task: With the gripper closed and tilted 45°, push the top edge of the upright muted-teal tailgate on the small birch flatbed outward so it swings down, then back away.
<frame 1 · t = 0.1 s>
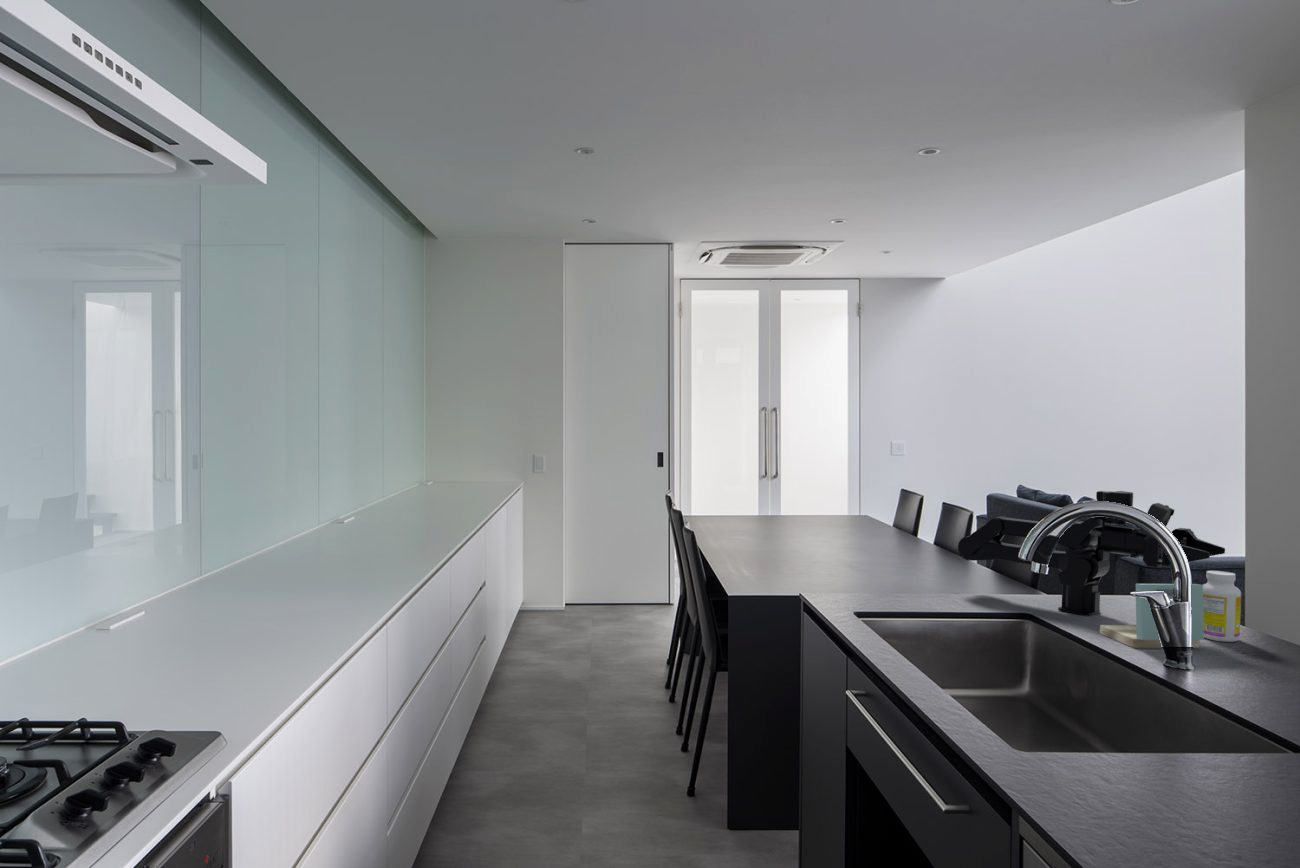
hand: (1217, 553, 163), 17 cm above the worktop, tool horizontal, fingers open, 9 cm apart
supplement bottle: (1218, 639, 163), on the worktop
tailgate: (1171, 612, 154), point 7 cm above the worktop, hinge at -5.0°
flatbed: (1148, 640, 160), on the worktop
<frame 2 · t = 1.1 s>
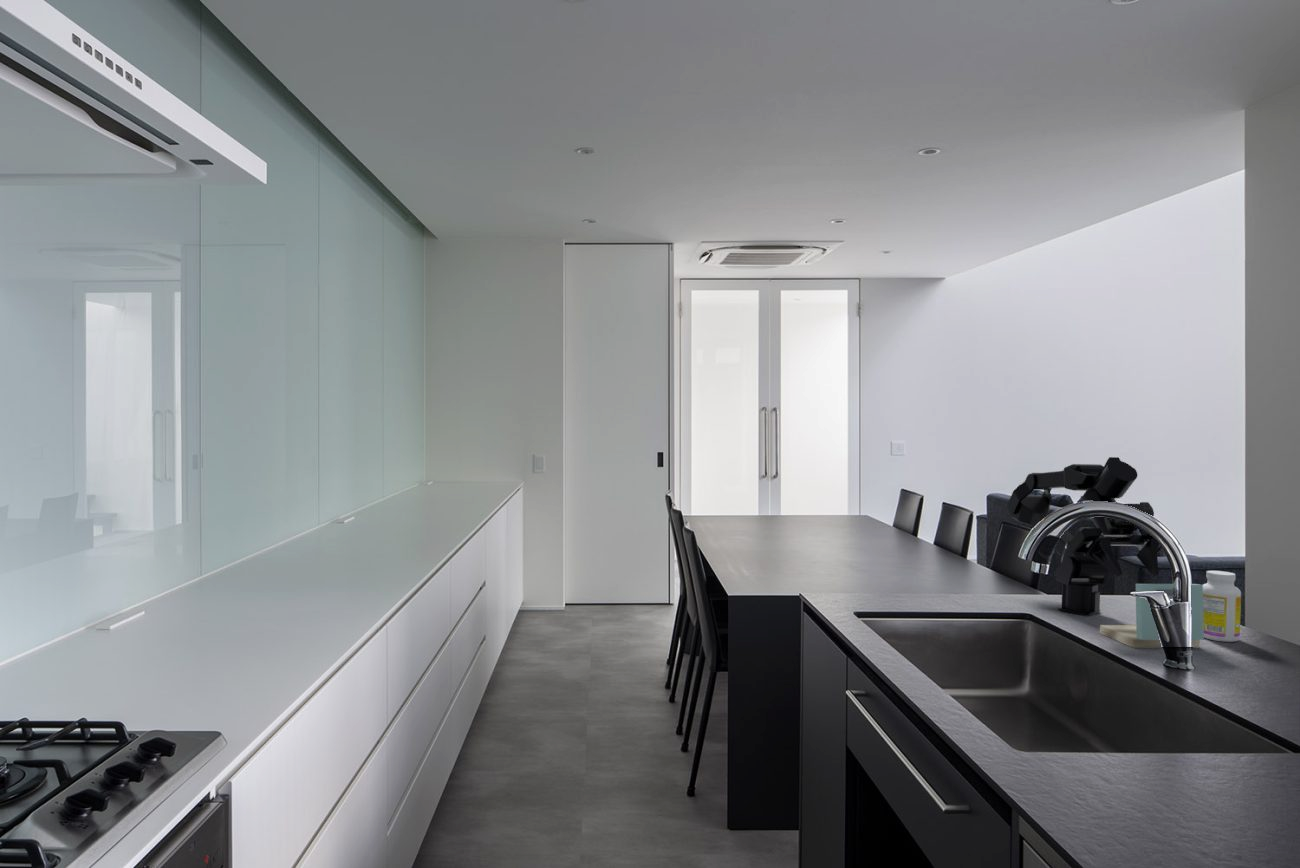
hand: (1138, 575, 163), 12 cm above the worktop, tool tilted 45°, fingers open, 7 cm apart
nothing on the worktop moved.
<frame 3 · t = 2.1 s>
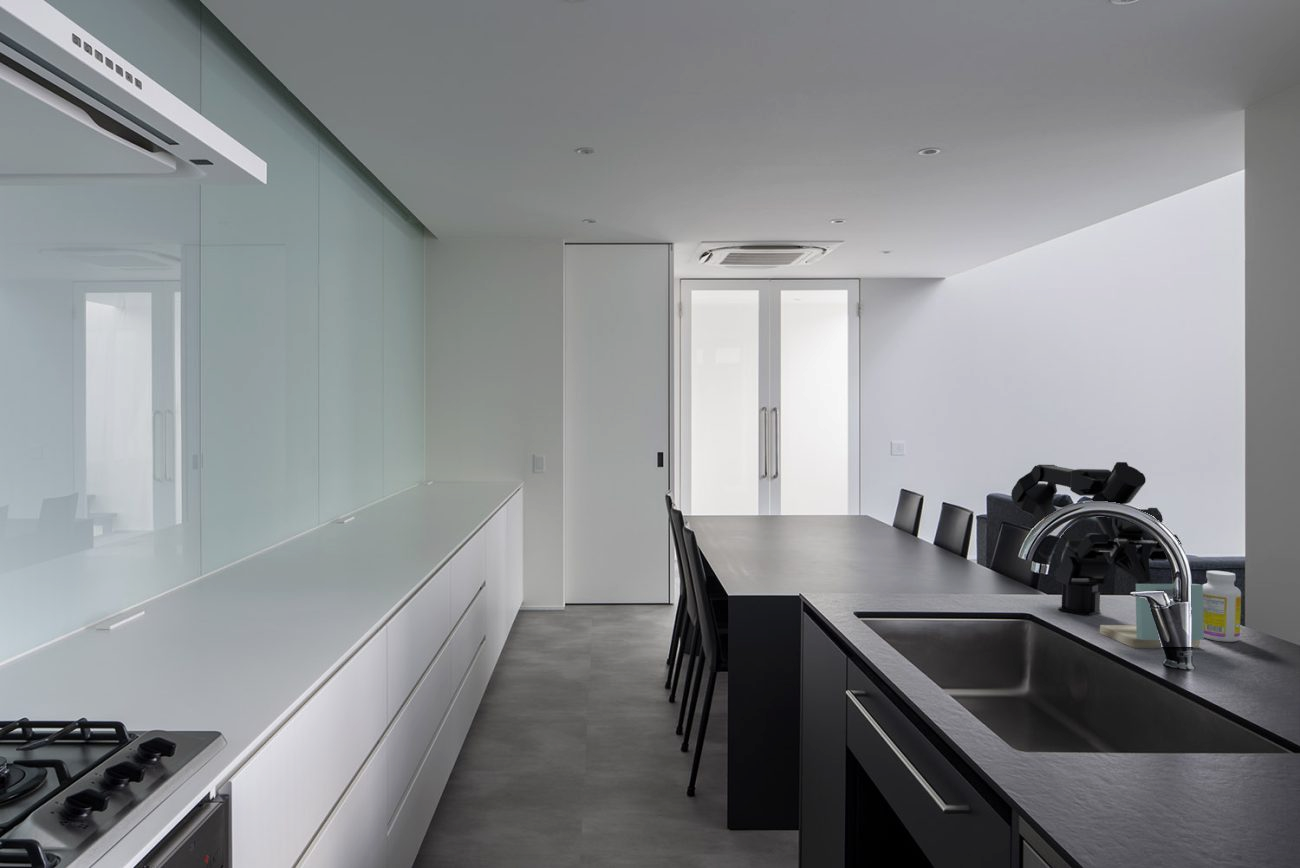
hand: (1147, 582, 161), 11 cm above the worktop, tool tilted 45°, fingers closed
nothing on the worktop moved.
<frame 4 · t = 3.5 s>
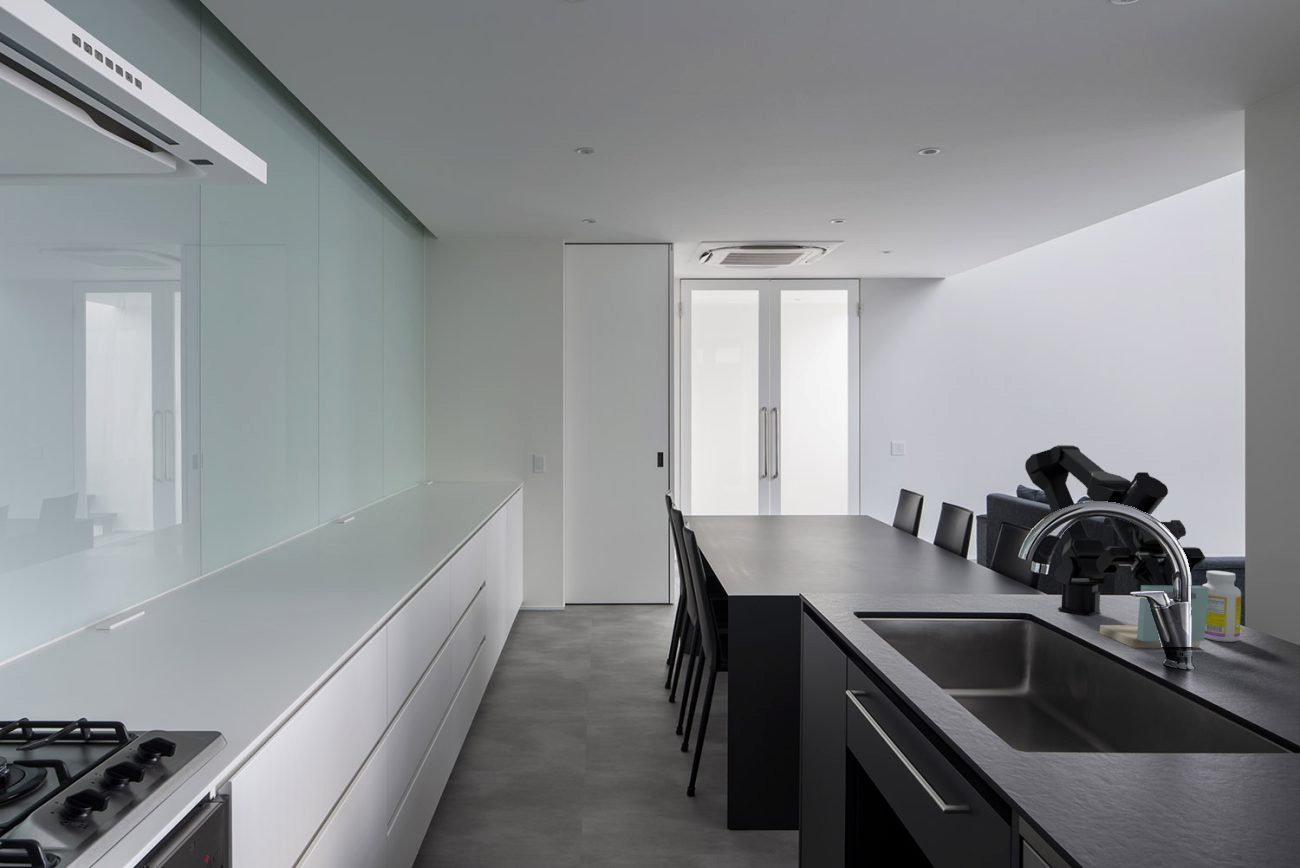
hand: (1170, 598, 154), 9 cm above the worktop, tool tilted 45°, fingers closed, pressing on tailgate
tailgate: (1174, 614, 153), point 7 cm above the worktop, hinge at 3.8°, touching gripper
everything else where it was.
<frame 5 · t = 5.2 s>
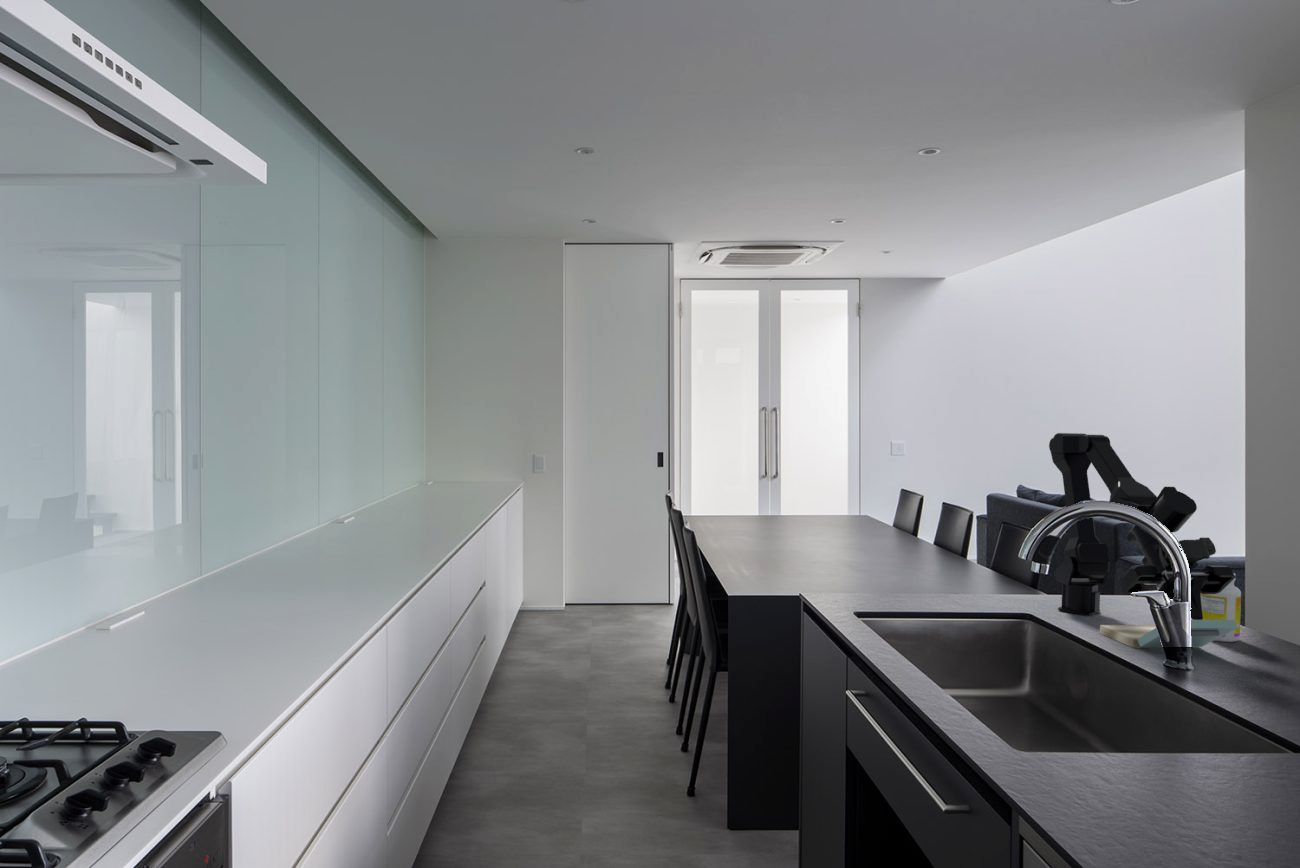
hand: (1199, 620, 147), 7 cm above the worktop, tool tilted 45°, fingers closed
tailgate: (1187, 636, 150), point 4 cm above the worktop, hinge at 55.3°
everything else where it was.
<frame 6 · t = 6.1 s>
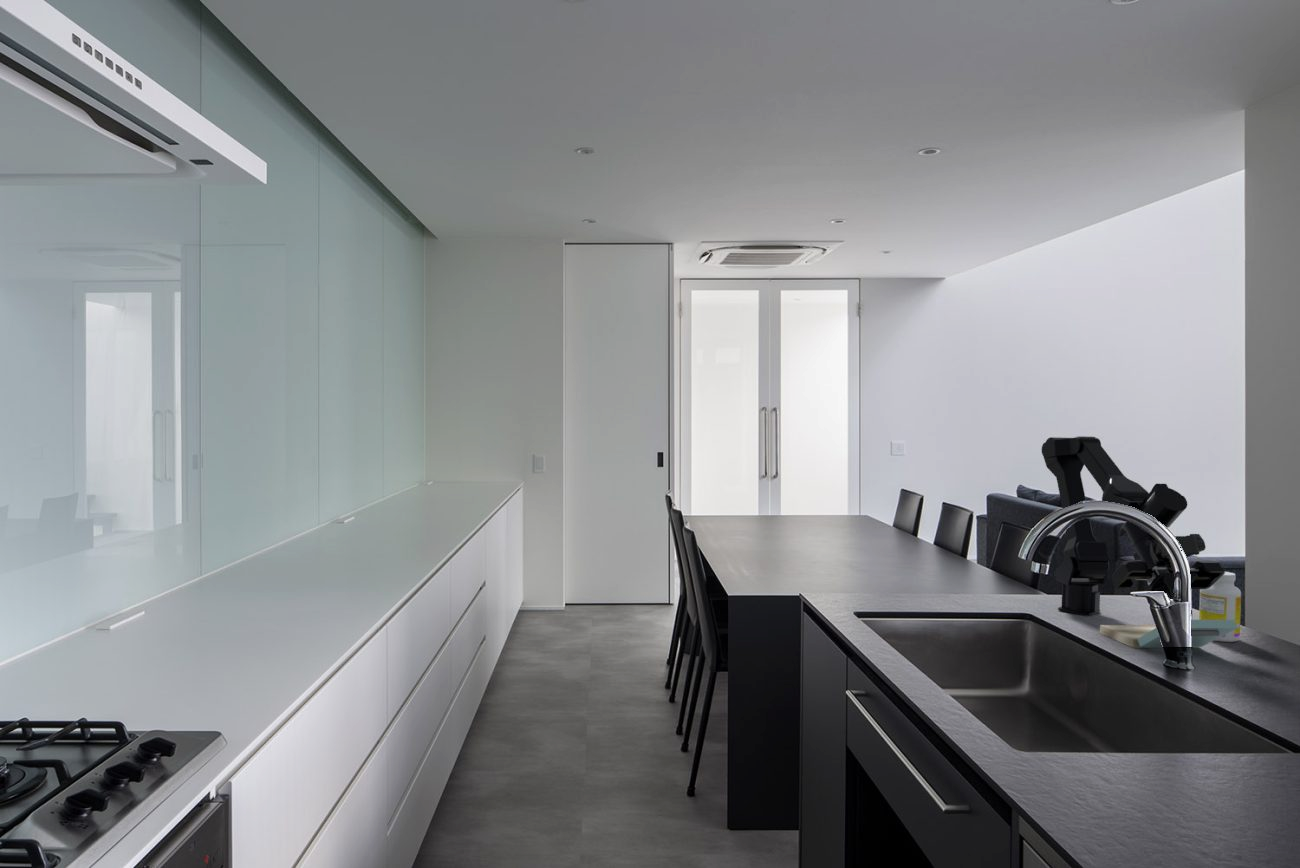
hand: (1188, 615, 149), 7 cm above the worktop, tool tilted 45°, fingers closed
nothing on the worktop moved.
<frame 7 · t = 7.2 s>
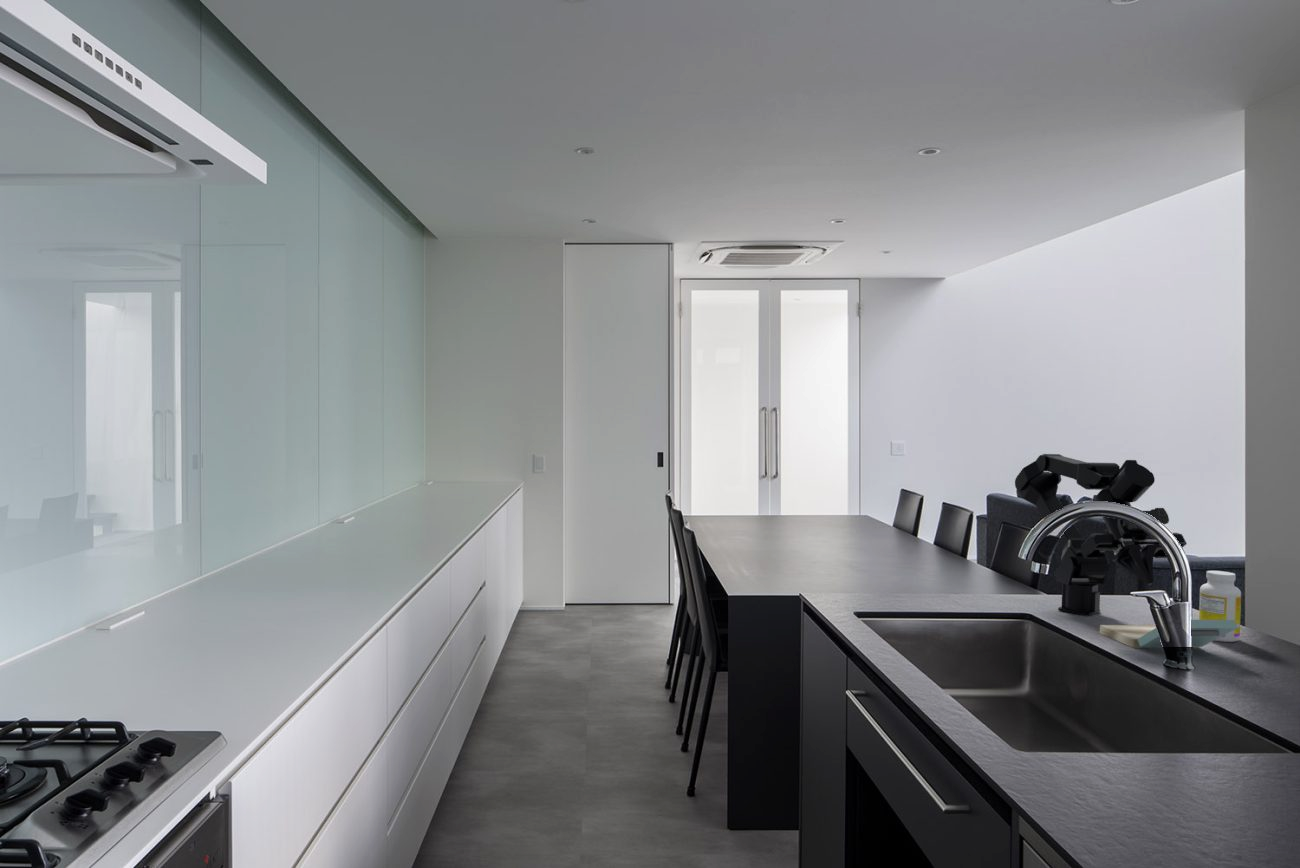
hand: (1150, 584, 160), 11 cm above the worktop, tool tilted 40°, fingers closed
nothing on the worktop moved.
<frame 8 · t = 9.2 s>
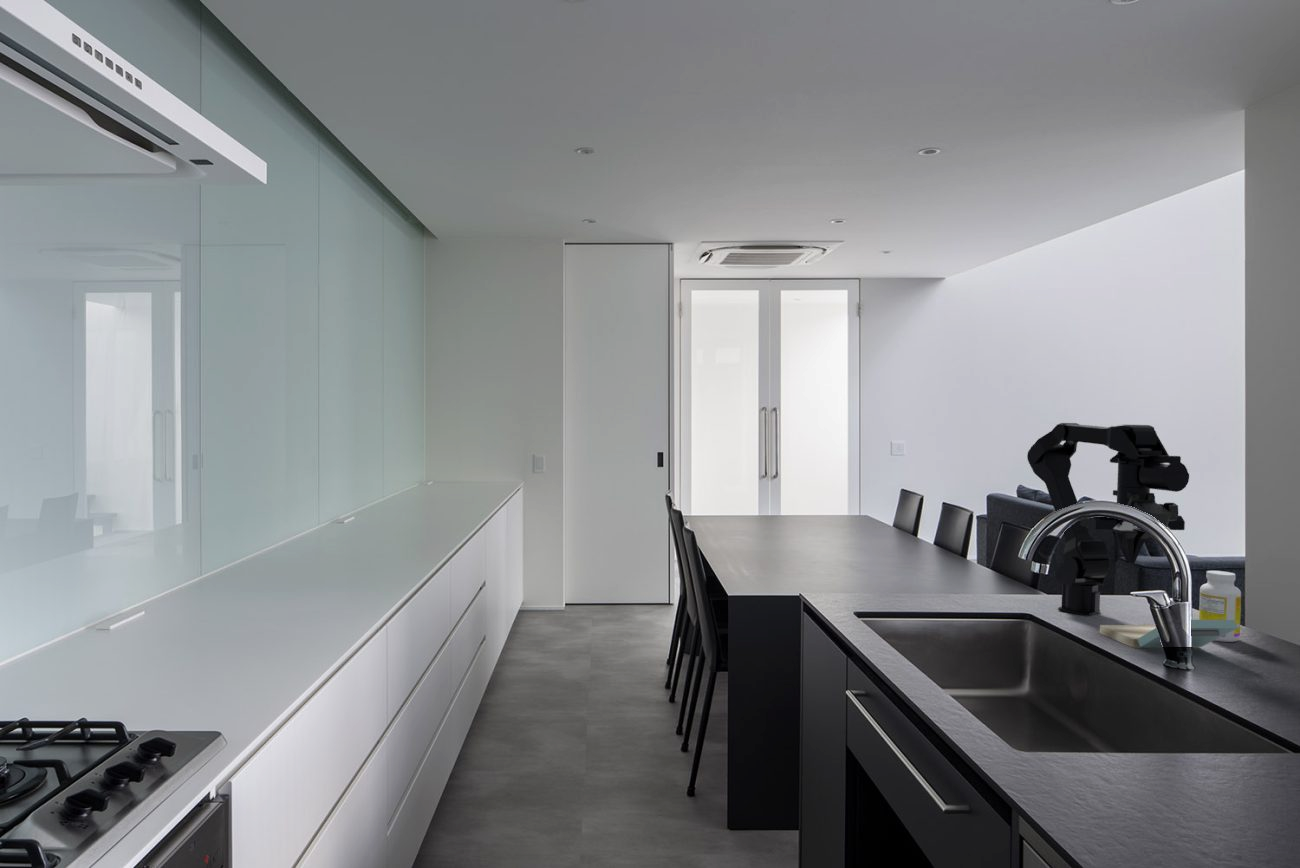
hand: (1130, 563, 169), 13 cm above the worktop, tool pointing down, fingers closed
nothing on the worktop moved.
at the end: tailgate at +55° (first picture: -5°); supplement bottle moved 0.2 cm from its start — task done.
